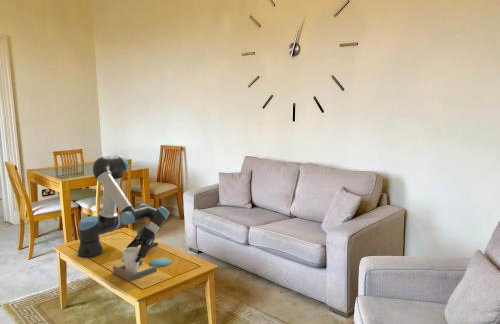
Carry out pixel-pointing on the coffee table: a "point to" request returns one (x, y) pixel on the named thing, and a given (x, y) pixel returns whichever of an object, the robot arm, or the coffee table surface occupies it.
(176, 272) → the coffee table surface
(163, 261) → the teal mat
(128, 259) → the foam cup
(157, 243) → the grey rock
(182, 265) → the coffee table surface
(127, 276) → the cup lane
